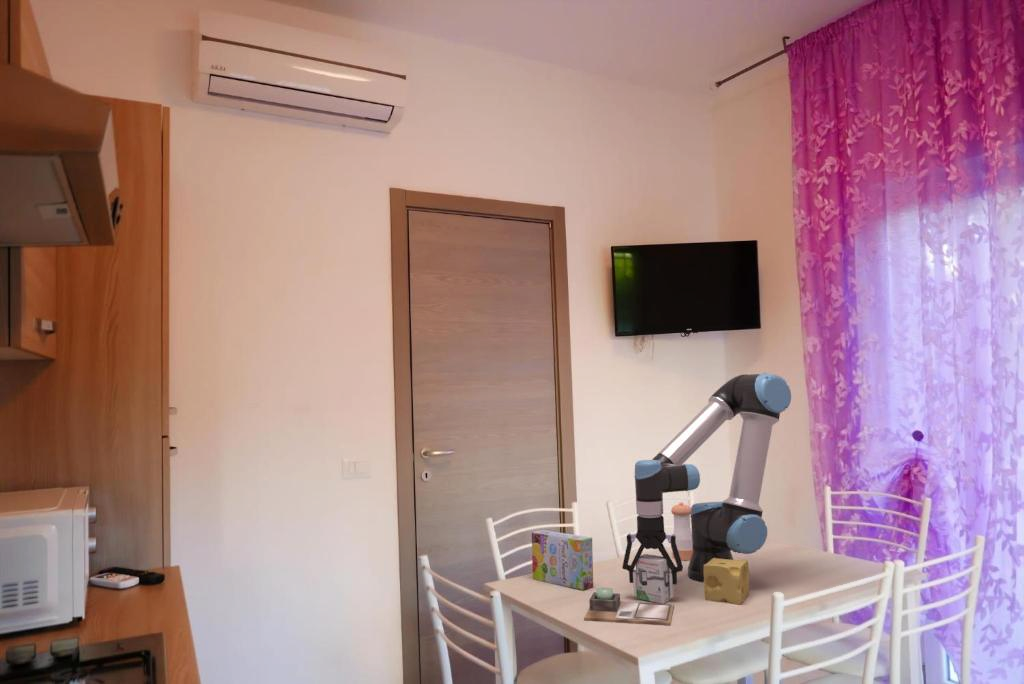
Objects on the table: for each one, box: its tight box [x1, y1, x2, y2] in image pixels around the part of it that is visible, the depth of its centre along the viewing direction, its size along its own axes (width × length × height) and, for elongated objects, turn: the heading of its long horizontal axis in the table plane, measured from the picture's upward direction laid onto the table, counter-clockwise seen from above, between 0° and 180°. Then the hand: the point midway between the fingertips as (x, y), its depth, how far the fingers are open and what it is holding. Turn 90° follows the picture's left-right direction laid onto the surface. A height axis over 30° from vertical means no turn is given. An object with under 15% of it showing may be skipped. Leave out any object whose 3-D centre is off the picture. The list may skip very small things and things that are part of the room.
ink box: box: [635, 553, 671, 604], centre depth 204 cm, size 9×5×12 cm, turn 50°
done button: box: [596, 587, 614, 600], centre depth 196 cm, size 4×4×3 cm
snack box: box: [531, 529, 594, 591], centre depth 224 cm, size 21×6×15 cm, turn 45°
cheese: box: [703, 558, 750, 606], centre depth 204 cm, size 10×11×10 cm
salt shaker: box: [670, 502, 693, 561], centre depth 251 cm, size 7×7×19 cm
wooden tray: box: [583, 592, 675, 626], centre depth 192 cm, size 22×16×3 cm
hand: (653, 595), depth 204 cm, fingers closed on ink box, 9 cm apart
